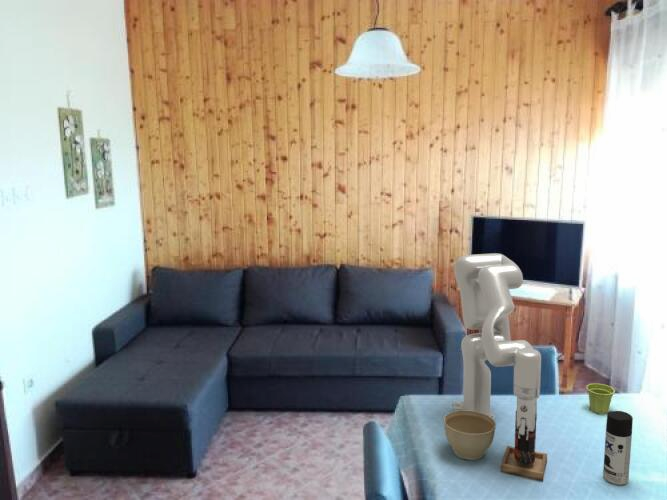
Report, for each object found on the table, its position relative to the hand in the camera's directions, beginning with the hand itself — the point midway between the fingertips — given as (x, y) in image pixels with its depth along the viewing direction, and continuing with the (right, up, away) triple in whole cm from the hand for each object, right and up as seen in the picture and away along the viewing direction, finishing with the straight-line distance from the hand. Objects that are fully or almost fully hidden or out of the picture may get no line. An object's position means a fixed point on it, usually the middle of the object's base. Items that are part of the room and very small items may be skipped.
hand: (524, 444), depth 165 cm
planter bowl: (-15, -6, +10) cm, 19 cm away
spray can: (+24, -8, -6) cm, 26 cm away
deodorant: (0, -5, +1) cm, 5 cm away
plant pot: (+40, 0, +35) cm, 53 cm away
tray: (0, -7, +1) cm, 7 cm away
